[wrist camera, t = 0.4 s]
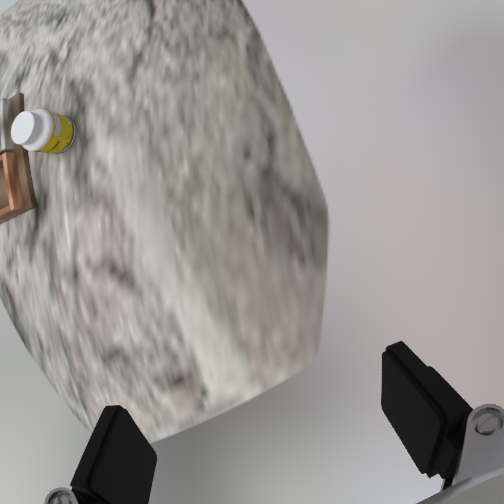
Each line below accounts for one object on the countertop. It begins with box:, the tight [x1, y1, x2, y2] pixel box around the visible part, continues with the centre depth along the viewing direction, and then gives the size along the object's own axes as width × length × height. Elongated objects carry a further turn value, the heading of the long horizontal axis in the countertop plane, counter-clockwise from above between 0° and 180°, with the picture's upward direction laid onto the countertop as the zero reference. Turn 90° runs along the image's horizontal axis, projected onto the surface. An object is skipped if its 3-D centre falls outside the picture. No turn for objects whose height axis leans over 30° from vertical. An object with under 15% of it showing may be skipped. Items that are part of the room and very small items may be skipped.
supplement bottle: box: [11, 109, 76, 153], centre depth 28 cm, size 5×5×10 cm
